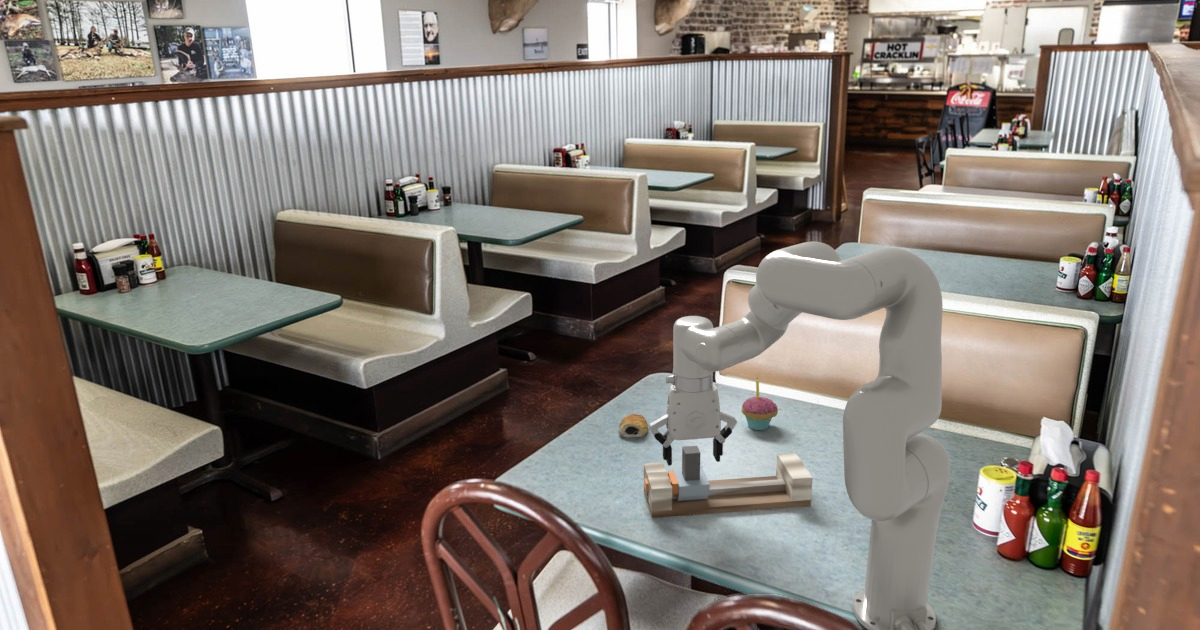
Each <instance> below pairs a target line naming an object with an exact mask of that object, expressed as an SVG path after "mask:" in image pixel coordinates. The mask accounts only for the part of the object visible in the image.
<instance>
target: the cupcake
mask: <svg viewBox="0 0 1200 630" xmlns="http://www.w3.org/2000/svg"><path fill="white" fill-rule="evenodd" d="M755 388H756V393H755V394H756V396H752V397H750V398H749V397H748V398H746V399H745V401H743V403H742V405H741V406H742V407H741V413H742V414H743V415H744V417H745V419H746V422H747V426H748V427H749V428H750V429H752V430H754V431H764V430H766V429H768V428H769V426H770V424H771V422H772V419H773V418H775V417H776V416H777V415H778V412H779V409H778V406H777V404H776V403H775V402H774V401H773V400H772V399H770V398H767V397H764V396H760V380H759V378H758V376H756V380H755Z"/></svg>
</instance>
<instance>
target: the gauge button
mask: <svg viewBox="0 0 1200 630" xmlns="http://www.w3.org/2000/svg"><path fill="white" fill-rule="evenodd" d="M667 475H668V477H669V480H670V483H671V486H672V495H674V494H678V481H677V478H676V476H675V473H674V471H673V470H668V471H667ZM645 489H646V491H649V482H648V479H647V478H645Z"/></svg>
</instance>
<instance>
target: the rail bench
mask: <svg viewBox="0 0 1200 630" xmlns="http://www.w3.org/2000/svg"><path fill="white" fill-rule="evenodd" d="M775 469H776V470H775V471H776V472H775V473H776V474H775V475H770V476H756V477H755V476H754V477H745V478H744V477H743V478H742V477H741V478H727V479H726V478H725V479H714V480H708V482H709V484H710V487H709V495H708V499H695V500H681V501H678V499H677V494H674V495H672V486H671V483H670V480H669V477H668V471H667V469H666V466H665V464H664V462H651V463H650V462H649V463H648V462H647V463H643V493H644V497H645V500H646V503H647V507H648V510H649V515H650V517H651V519H657V518H659V519H661V518H670V517H671V518H673V517H685V516H686V517H687V516H700V515H711V514H712V515H713V514H725V513H726V514H727V513H740V512H742V513H743V512H751V511H752V512H753V511H765V510H780V509H794V508H806V507H811V504H812V492H813V481H814V480H813V479H814V477H813V476H812V474H811V473H810V471H809V470H808V469H807V467H806V466H805V464H804V463H803V461H802V460H801V458H800V457H799V455H798V454H797V453H796V452H795V453H783V454H779V453H778V454H776V468H775ZM645 478H647V479H648V482H649V491H646V489H645Z"/></svg>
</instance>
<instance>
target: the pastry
mask: <svg viewBox="0 0 1200 630" xmlns="http://www.w3.org/2000/svg"><path fill="white" fill-rule="evenodd" d="M618 427H619V430H618V435H619V436H620V437H624V438H642V437H644V436H646V435H647V434H648V431H649V430H648V428H649V424H648V421H647V419H646V418H645V416H643V415H642V414H637V413H631V414H629V415H626V416H625V417H623V419H622V420H621V421H620V423H619V426H618Z"/></svg>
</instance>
